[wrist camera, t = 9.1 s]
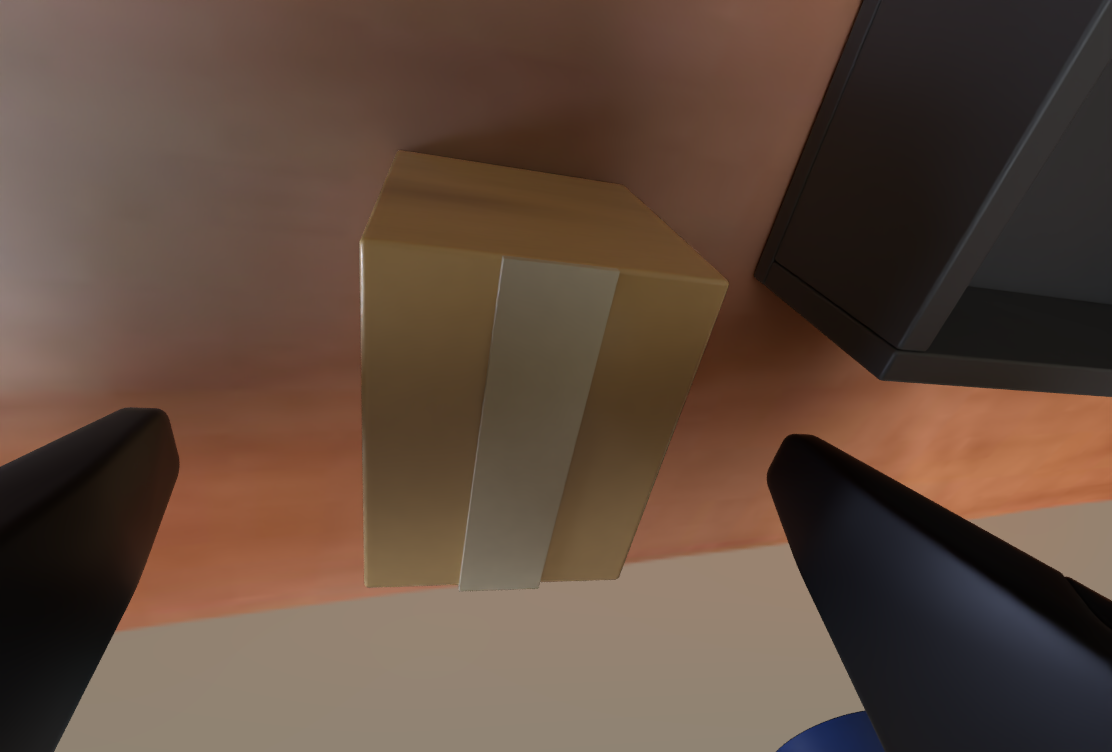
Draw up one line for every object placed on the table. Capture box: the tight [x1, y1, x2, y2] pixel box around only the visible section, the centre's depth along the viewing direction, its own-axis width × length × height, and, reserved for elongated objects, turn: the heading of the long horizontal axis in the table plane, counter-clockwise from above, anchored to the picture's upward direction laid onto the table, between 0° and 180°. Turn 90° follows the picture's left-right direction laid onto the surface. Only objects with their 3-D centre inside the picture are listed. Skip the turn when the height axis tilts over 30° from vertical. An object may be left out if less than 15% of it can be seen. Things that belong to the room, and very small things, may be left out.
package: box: [359, 150, 729, 591], centre depth 10 cm, size 6×4×5 cm
